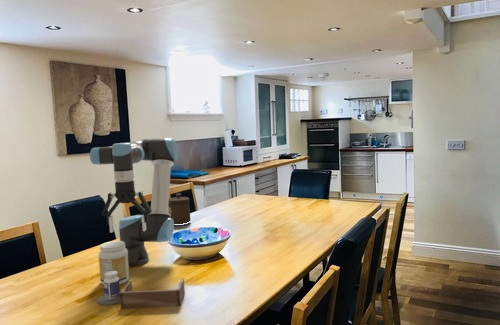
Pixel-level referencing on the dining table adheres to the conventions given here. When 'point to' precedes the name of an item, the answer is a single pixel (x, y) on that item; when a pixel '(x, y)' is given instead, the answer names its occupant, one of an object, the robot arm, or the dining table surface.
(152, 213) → the robot arm
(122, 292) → the wooden u-shaped bracket
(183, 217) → the wooden container
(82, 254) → the dining table surface
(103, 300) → the coaster
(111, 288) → the pill bottle
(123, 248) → the supplement tub
